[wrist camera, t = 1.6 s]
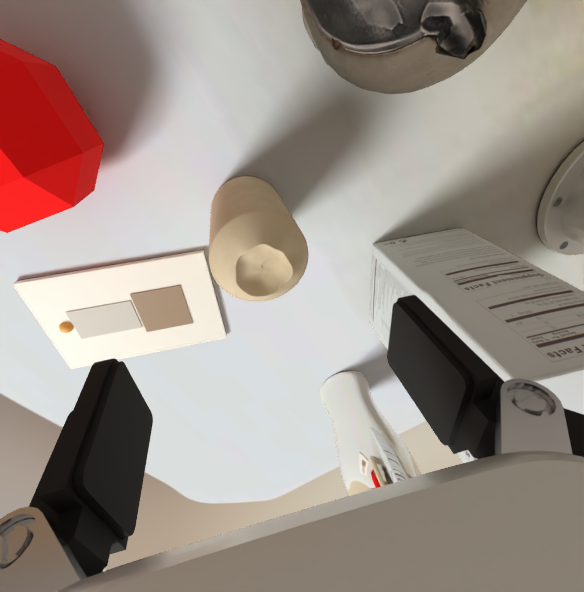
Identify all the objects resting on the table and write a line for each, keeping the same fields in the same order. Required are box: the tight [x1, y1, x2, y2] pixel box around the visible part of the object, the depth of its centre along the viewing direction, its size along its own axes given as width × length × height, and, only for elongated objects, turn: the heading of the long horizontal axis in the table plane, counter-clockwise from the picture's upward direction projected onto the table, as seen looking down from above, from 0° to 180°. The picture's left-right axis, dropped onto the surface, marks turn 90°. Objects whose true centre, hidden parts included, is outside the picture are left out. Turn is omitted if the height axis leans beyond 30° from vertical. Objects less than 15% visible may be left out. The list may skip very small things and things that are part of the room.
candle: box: [209, 176, 308, 301], centre depth 20 cm, size 6×6×10 cm
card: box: [13, 250, 227, 369], centre depth 27 cm, size 14×9×1 cm, turn 94°
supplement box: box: [369, 228, 584, 463], centre depth 24 cm, size 10×9×17 cm
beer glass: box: [319, 371, 422, 496], centre depth 32 cm, size 7×7×15 cm
